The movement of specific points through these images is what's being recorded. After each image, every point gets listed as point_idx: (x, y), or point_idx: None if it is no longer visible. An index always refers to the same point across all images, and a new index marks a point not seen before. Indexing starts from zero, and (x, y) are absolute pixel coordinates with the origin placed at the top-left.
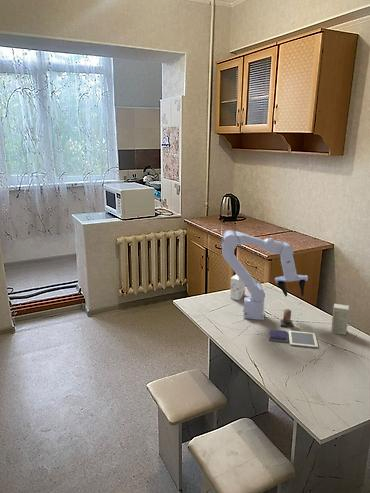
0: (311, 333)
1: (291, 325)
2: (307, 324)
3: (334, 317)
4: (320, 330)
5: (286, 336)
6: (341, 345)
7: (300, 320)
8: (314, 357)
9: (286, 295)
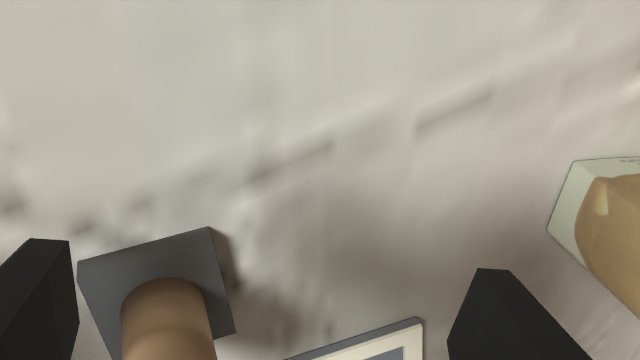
0: (396, 343)
1: (224, 335)
2: (370, 191)
3: None
4: (470, 239)
5: None
6: None
7: (298, 139)
8: None
9: (73, 334)
